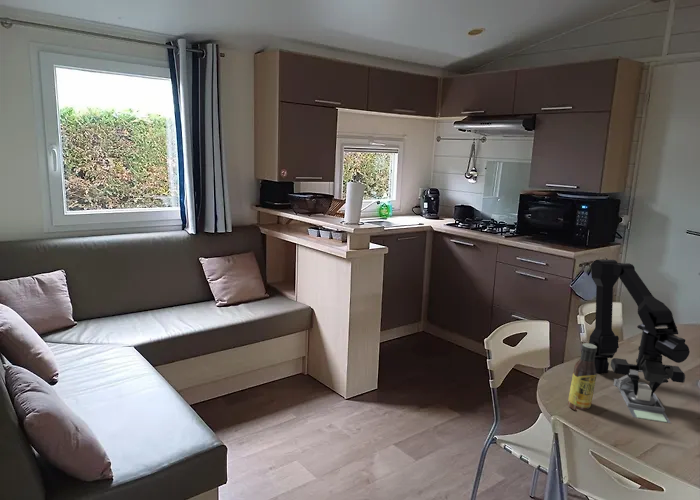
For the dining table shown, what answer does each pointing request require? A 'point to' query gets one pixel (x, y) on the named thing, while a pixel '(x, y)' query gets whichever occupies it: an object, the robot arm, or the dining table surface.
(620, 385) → the pivoting lever handle
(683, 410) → the dining table surface
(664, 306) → the robot arm
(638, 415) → the socket base
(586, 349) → the sauce bottle
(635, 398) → the plug
